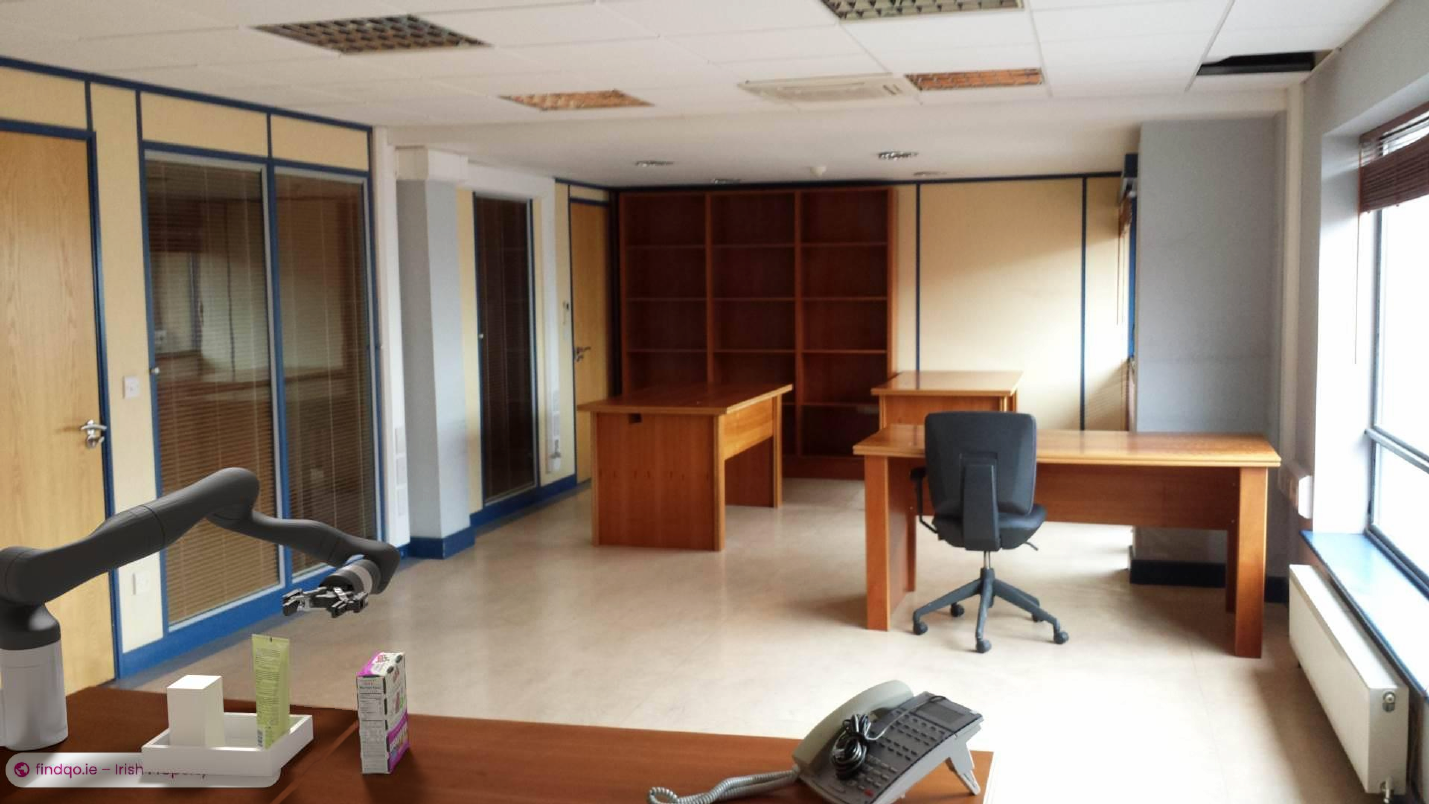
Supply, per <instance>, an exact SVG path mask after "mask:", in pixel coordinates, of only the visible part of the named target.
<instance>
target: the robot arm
mask: <svg viewBox="0 0 1429 804" xmlns="http://www.w3.org/2000/svg"><path fill="white" fill-rule="evenodd" d="M260 490H261V482H260V479H259V477H258V476H257V474H256V473H254V472H253V471H251V470H249V469H247V468H243V467H228V468H223V469H221V470H218V471H216V472H215V471H214V473H211V474H210V475H208V476H206V477H204V478H201V479H200V480H198V481H195V482H194V483H192V484H190V485H188V486H186V487H184V488H182V489H179V490H176V491H174V492H171V493H168V494H166V495H164V496H161V497H158V498H156V499H153V500H150V501H147V502H145V503H142V504H139V505H136V506H133V507H130V508H128V509H125V510H122V511H119V512H117V513H115V514H113V515H111V516H110V517H108V518H106V519H105V520H104V521H103V522H102V523H101V524H100V525H99V526H97V528H95V530H93V531H92V532H91V533H90V534H88V535H87V536H85V537H83V538H80V539H78V540H76V541H73V542H70V543H67V544H64V545H59V546H57V547H52V548H47V549H46V548H43V549H42V548H41V549H40V548H35V547H28V546H24V545H23V546H22V545H15V546H14V545H13V546H8V547H5V548H3V549H1V550H0V747H5V748H7V749H8V750H11V751H12V750H13V751H29V750H30V751H31V750H32V751H33V750H38V749H43V748H48V747H49V746H53V745H56V744H58V743H60V742H63V741H64V740H65V739H66V738H67V737H68V735H69V732H68V718H67V717H68V716H67V704H66V703H67V700H66V689H65V688H66V686H65V685H66V684H65V673H64V671H65V669H64V659H63V658H64V657H63V646H62V631H61V624H60V622H59V621H58V619H57V618H56V617H54V615H53V614H51V612H50V611H49V610H48V608H47V606H46V603H49V602H52V601H54V600H56V599H57V598H59V597H61V596H63V595H65V594H67V593H68V592H70V591H72V590H74V589H76V588H78V587H79V586H81V585H83V584H84V583H87V582H89V581H91V580H92V579H94V578H96V577H99V576H100V575H104V574H107V573H109V572H112V571H114V570H117V569H119V568H122V567H124V566H127V565H128V564H131V563H134V562H136V561H139V560H142V559H145V558H147V557H149V556H153V555H155V554H157V553H159V552H161V551H163V550H165V549H167V548H169V546H171V545H173V544H175V542H177V541H178V540H179V539H181V538H182V537H183V536H184V535H186V534H187V533H188V532H189V531H190V530H191V529H192V528H193V527H195V526H196V525H197V524H199V522H201V521H202V520H203V519H206V520H207V522H209V523H211V524H213V525H214V526H216V527H219V528H221V529H223V530H227V531H230V532H233V533H237V534H240V535H243V536H244V535H245V536H248V537H250V538H254V539H257V540H261V541H265V542H268V543H271V544H276V545H279V546H283V547H285V548H289V549H292V550H294V551H296V552H298V553H299V552H300V553H302V554H303V555H306V556H308V557H311V558H312V559H315V560H317V561H319V562H321V563H323V564H326V565H328V566H330V567H333V568H336V569H337V570H335V571H334V572H332V573H330V574H329V575H327V576H326V577H324V578H322V580H321V581H319V584H318V586H317V588H316V589H312V590H307V591H303V588H296V589H293V590H292V591H289V592H288V593H287V594H284V595H282V614H283V615H284V617H288V618H289V617H291V616H292V615H294V614H296V613H297V612H299V611H305V612H306V613H308V612H312V611H317V610H319V611H324V610H325V611H327V612H328V613H330V615H331V618H332V619H337V618H339V617H341V616H342V615H344V614H345V615H347V614H349V613H350V611H352V613H353V614H359V613H361V612H362V611H363V610H365V608H366V607H368V606H369V595H376V596H377V595H380V594H382V593H383V592H384V591H385V590H386V588H387V587H388V586H389V584H390V582H391V580H392V578H393V576H394V575H395V573H396V571H397V569H398V567H399V566H400V564H401V560H402V556H401V553H400V551H399V549H398V548H397V547H395V546H394V545H393V544H391V543H389V542H385V541H381V540H374V539H367V538H364V537H358V536H355V535H351V534H349V533H345V532H343V531H342V530H339V529H337V528H335V527H333V526H331V525H330V524H329V525H328V524H326V523H323V522H321V521H317V520H314V519H313V520H311V519H297V518H296V519H295V518H294V519H286V518H277V517H272V516H268V515H266V514H263V513H261V512H259V511H257V510H255V509H254V507H255V505H256V503H257V501H258V498H259V495H260V492H261V491H260ZM357 555H358V556H362V558H361V559H358V560H356V561H353V562H351V563H350V564H348V565H346V566H345V564H346V563H348V561H349V560H350V559H351V558H352V557H353V556H357ZM310 604H311V605H310Z"/></svg>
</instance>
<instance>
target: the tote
mask: <svg viewBox="0 0 1429 804" xmlns="http://www.w3.org/2000/svg"><path fill="white" fill-rule="evenodd" d="M313 724H314V723H313V715H312V714H310V715H309V714H290V730H288V731H287V732H286V733H285V734H284V735H283V736H281V737H280V738H279V739H278V740H277V741H276V742H274V743H273V744H272V745H271V746H270V747H269V748H267V749H260V748H258V734H257V712H255V713H252V712H250V713H249V712H227V711H224V727H225V747H202V746H174V745H170V736H169V727H168V728H166V729H165V730H164V731H162V732H161V733H160V734H158V735H157V736H155V737H154V738H152V739H151V740H150V741H148V742H147V743H145V744H144V745H142V746H141V758H142V759H141V760H142V761H141V762H142V772H143V773H165V774H169V773H170V774H188V775H189V774H190V775H191V774H192V775H193V774H195V775H219V776H221V775H222V776H243V777H245V776H247V777H248V776H249V777H273V776H275V774H276V773H278V771H279V770H281V769H282V768H283V767H284V766H285V765H286V764H287V763H288V762H289V761H290V760H291V759H292V758H294V757H295V756H296V755H297V754H298V753H299V752H300V751H301V750H302V749H304V747H306V745H308V744H309V743H310V742H312V741H313V740H314V729H313V727H314V725H313Z"/></svg>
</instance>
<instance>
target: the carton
mask: <svg viewBox="0 0 1429 804" xmlns="http://www.w3.org/2000/svg"><path fill="white" fill-rule="evenodd" d="M223 693H224V692H223V676H222V675H199V674H198V675H197V674H187V675H186V674H185V676H183V677H181V678H180V679H179V680H177V681H174V683H172V684H170V685H168V686H167V687H166V696H167V697H166V698H167V700H166V701H167V716H168V717H167V718H168V728H169V736H170V745H174V746H202V747H225V727H224V712H225V711H224V696H223V695H224V694H223Z"/></svg>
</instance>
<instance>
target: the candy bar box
mask: <svg viewBox="0 0 1429 804" xmlns="http://www.w3.org/2000/svg"><path fill="white" fill-rule="evenodd" d="M405 656H406V655H405V652H404V651H403V652H402V651H401V652H399V651H398V652H396V651H395V652H394V651H390V652H389V651H387V652H385V651H379V652H376V653H375V654H374V655H373V656H372V658H371V659H370V660H369V661H368V662H367V663H366V664H365V666H364V667H362V668H361V670H360V671H358V673H357V674H356V675H355V682H356V698H357V699H356V700H357V703H356V704H357V716H358V732H359V733H358V735H359V753H360V755H359V757H360V770H361V771H360V772H361V774H362V775H390V774H391V773H392V772H393V770H395V768H396V765H398V762H399V761H400V760H401V758H402V757H403V755H404V754H405V752H406V751H407V750H408V748H409V747H410V739H409V736H410V735H409V721H408V720H409V718H408V699H407V683H406V682H407V681H406V679H407V678H406V657H405Z"/></svg>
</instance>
